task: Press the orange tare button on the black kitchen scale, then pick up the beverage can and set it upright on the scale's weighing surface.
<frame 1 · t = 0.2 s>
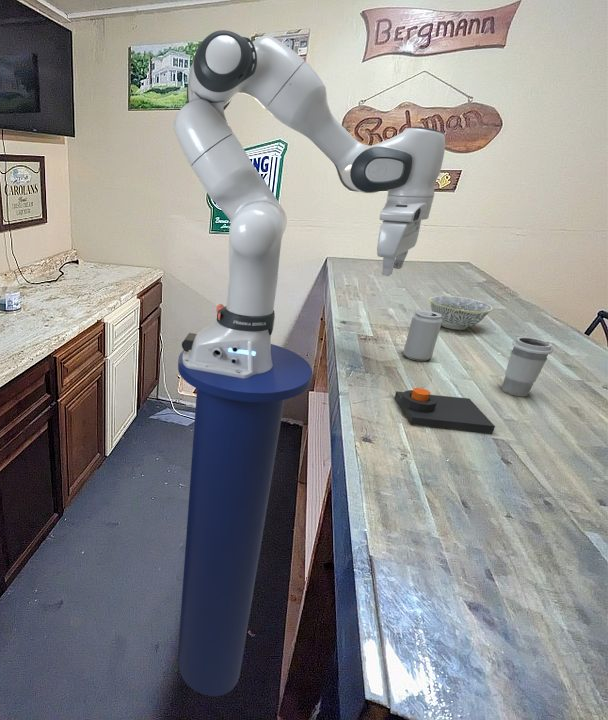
hand: (392, 271, 106), 23 cm above the bar counter, tool pointing down, fingers open, 8 cm apart
scale: (439, 414, 93), on the bar counter
tare button: (420, 394, 92), point 4 cm above the bar counter, slide at 0.1 cm
beverage can: (416, 357, 119), on the bar counter
bowl: (452, 326, 141), on the bar counter
cup: (514, 392, 102), on the bar counter
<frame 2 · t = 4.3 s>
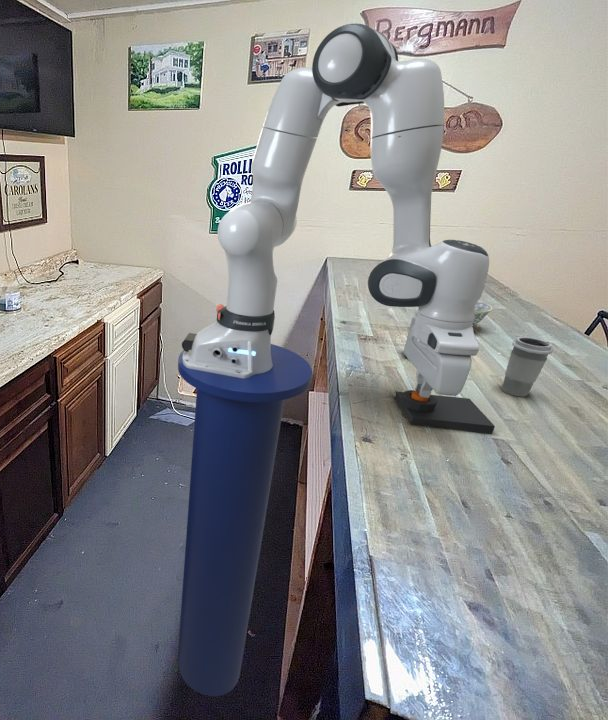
hand: (421, 394, 92), 4 cm above the bar counter, tool pointing down, fingers closed, pressing on tare button
tare button: (419, 398, 92), point 3 cm above the bar counter, slide at -0.6 cm, touching gripper
everything else where it was.
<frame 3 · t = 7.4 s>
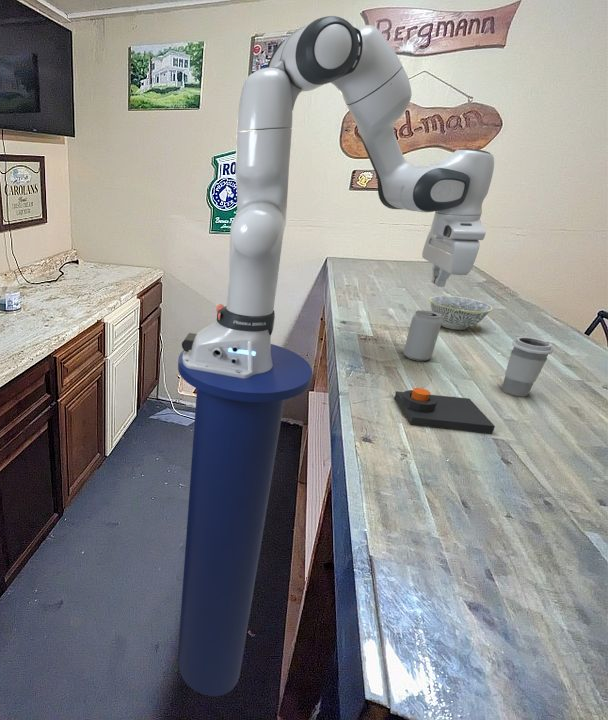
hand: (437, 284, 111), 19 cm above the bar counter, tool pointing down, fingers closed
tare button: (420, 394, 92), point 4 cm above the bar counter, slide at 0.1 cm
everything else where it was.
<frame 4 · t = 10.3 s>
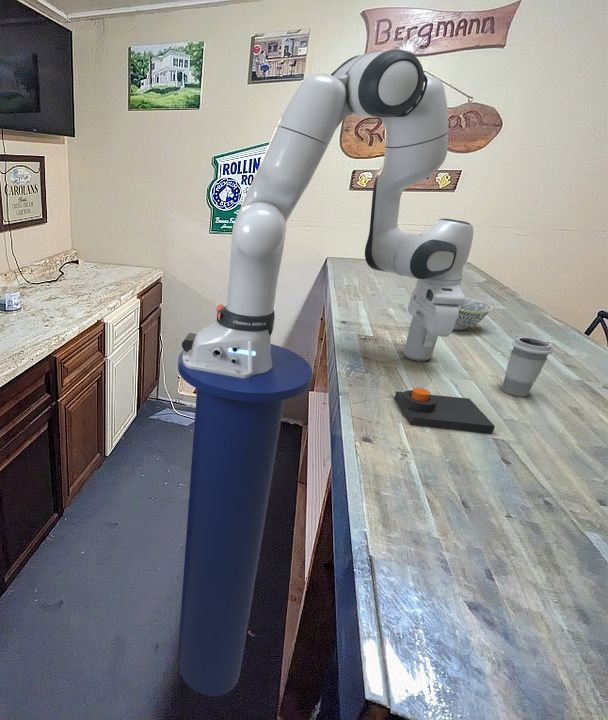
hand: (421, 340, 117), 5 cm above the bar counter, tool pointing down, fingers closed on beverage can, 6 cm apart
beverage can: (416, 357, 119), on the bar counter, touching gripper
everything else where it was.
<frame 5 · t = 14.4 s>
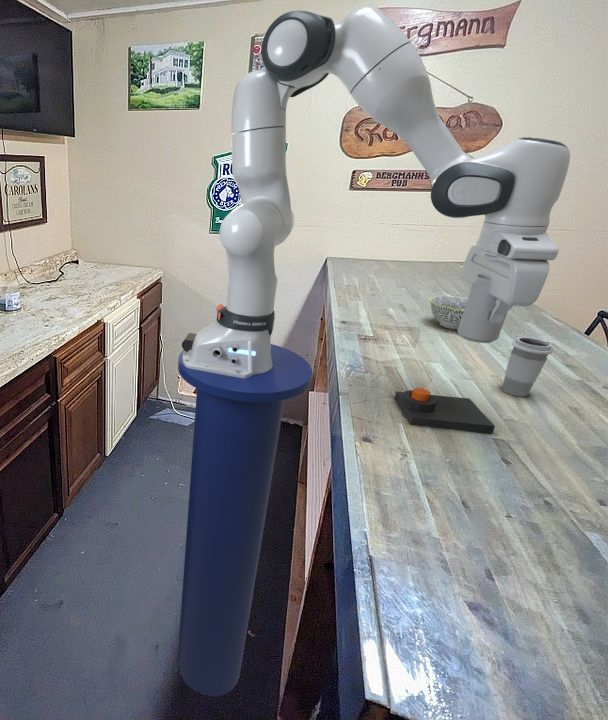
hand: (484, 315, 86), 21 cm above the bar counter, tool pointing down, fingers closed on beverage can, 6 cm apart
beverage can: (475, 339, 88), point 16 cm above the bar counter, touching gripper
everything else where it was.
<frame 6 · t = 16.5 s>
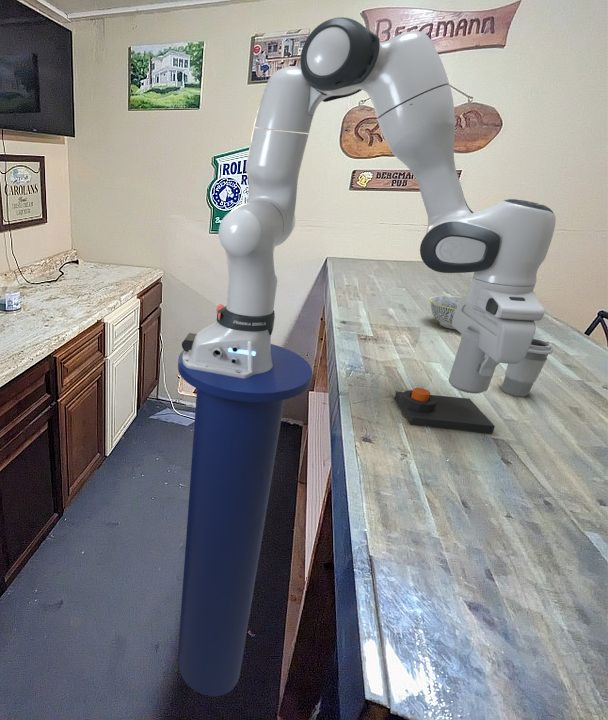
hand: (473, 366, 87), 11 cm above the bar counter, tool pointing down, fingers closed on beverage can, 6 cm apart
beverage can: (466, 388, 89), point 6 cm above the bar counter, touching gripper
everything else where it was.
when the fingers open (6 cm above the bar counter, at t = 18.5 s): beverage can stays where it is, resting on scale.
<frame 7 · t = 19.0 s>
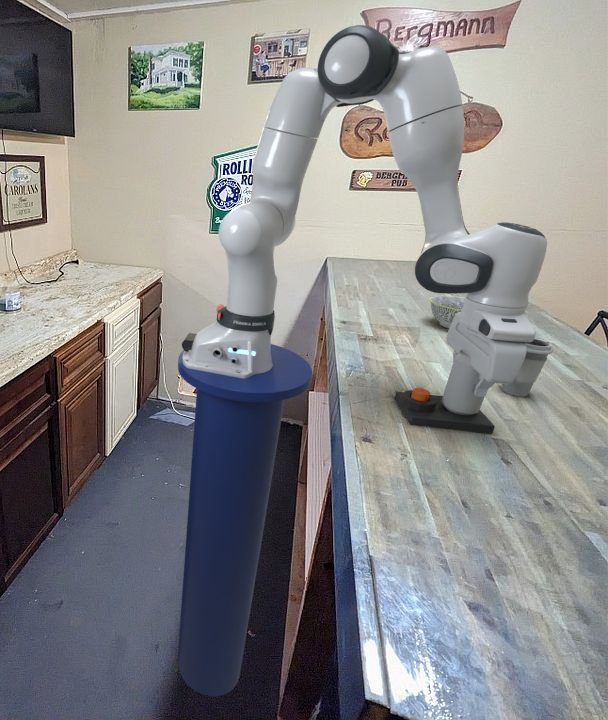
hand: (467, 383, 89), 7 cm above the bar counter, tool pointing down, fingers open, 8 cm apart
beverage can: (458, 409, 91), point 2 cm above the bar counter, touching scale
everything else where it was.
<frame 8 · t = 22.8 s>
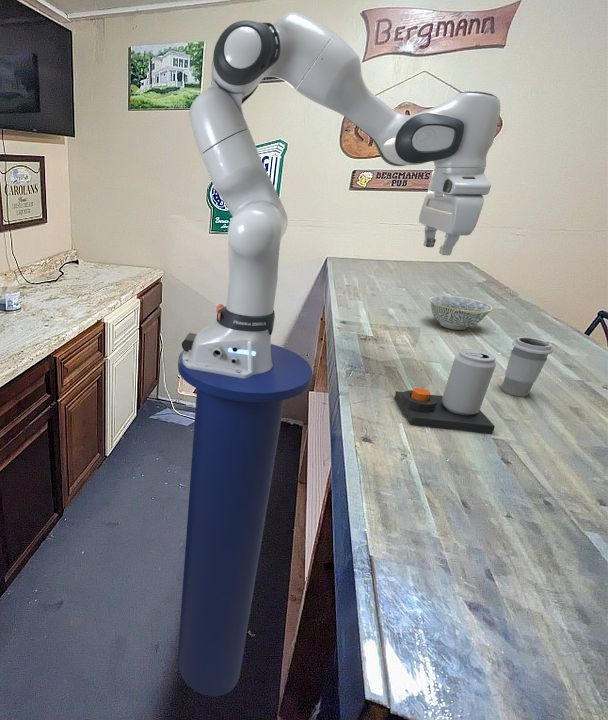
hand: (436, 250, 99), 29 cm above the bar counter, tool pointing down, fingers open, 8 cm apart
nothing on the bar counter moved.
at the end: tare button pushed in 1.1 cm at the most during the clip, back to where it started at the end; beverage can inside the target area on the scale (0.1 cm from its centre), point 1.5 cm above the scale's base; beverage can tilted 0° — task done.
